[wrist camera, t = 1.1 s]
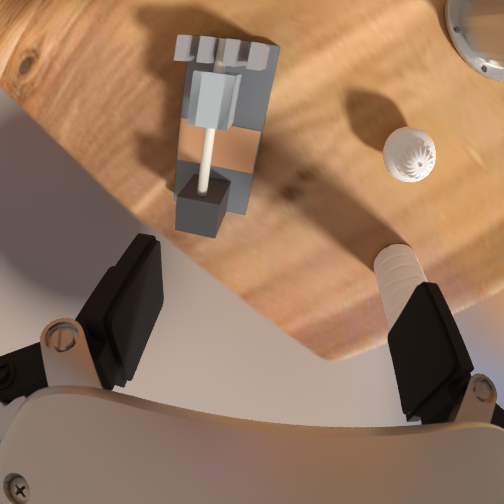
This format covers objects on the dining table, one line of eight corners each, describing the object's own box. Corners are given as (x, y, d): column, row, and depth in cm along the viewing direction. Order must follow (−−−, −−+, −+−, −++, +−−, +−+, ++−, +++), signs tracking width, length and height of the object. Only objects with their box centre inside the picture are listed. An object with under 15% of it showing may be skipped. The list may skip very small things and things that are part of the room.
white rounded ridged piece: (432, 151, 30) (458, 174, 24) (393, 179, 33) (412, 206, 27) (405, 109, 28) (430, 122, 22) (364, 139, 31) (380, 159, 25)
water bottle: (363, 264, 40) (393, 440, 20) (398, 234, 37) (459, 411, 17) (399, 293, 43) (434, 449, 23) (431, 267, 39) (486, 424, 19)
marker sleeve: (204, 69, 25) (193, 70, 22) (242, 74, 25) (235, 75, 22) (197, 117, 28) (186, 124, 25) (233, 122, 28) (226, 130, 25)
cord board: (196, 35, 26) (168, 31, 20) (280, 47, 26) (276, 42, 20) (177, 195, 38) (153, 227, 31) (246, 209, 38) (235, 246, 31)
